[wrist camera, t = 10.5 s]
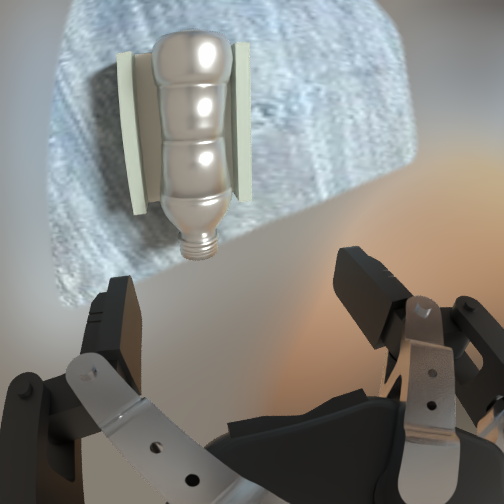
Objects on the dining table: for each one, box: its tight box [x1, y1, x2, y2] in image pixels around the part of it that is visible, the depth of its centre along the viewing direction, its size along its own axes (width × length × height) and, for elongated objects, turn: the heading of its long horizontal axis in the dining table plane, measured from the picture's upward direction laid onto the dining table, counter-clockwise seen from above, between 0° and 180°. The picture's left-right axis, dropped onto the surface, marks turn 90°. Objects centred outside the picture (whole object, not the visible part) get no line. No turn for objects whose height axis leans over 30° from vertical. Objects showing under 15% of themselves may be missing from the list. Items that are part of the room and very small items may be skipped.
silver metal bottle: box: [150, 29, 233, 260], centre depth 24 cm, size 6×7×20 cm
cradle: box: [117, 43, 252, 215], centre depth 25 cm, size 14×11×4 cm
